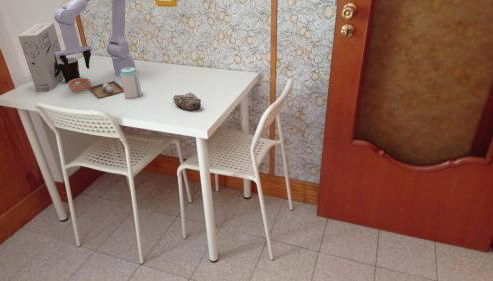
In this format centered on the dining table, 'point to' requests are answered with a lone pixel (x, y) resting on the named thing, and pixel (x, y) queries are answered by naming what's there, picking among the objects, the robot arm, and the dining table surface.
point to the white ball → (105, 86)
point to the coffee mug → (73, 67)
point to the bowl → (84, 84)
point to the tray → (102, 93)
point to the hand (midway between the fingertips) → (79, 70)
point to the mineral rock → (187, 101)
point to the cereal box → (42, 55)
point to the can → (130, 82)
